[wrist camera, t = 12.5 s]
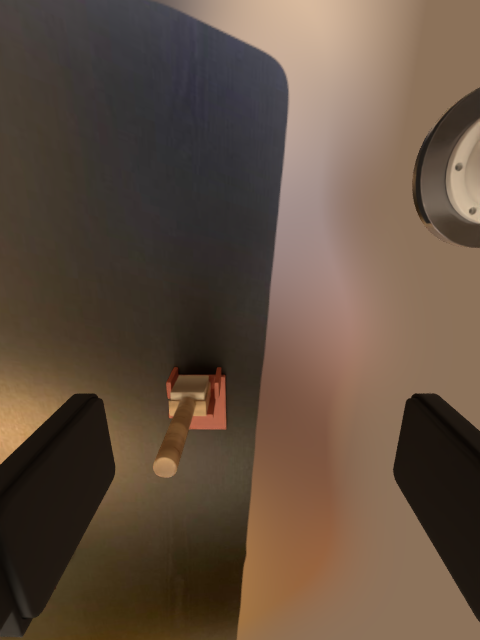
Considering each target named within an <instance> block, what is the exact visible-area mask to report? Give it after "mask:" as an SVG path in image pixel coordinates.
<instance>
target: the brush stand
mask: <svg viewBox="0 0 480 640" xmlns="http://www.w3.org/2000/svg"><path fill="white" fill-rule="evenodd" d="M208 376H209V382H211V397H210V402H209V406H208V411H207V415H206V416H193V418H192V421H191V424H190V428H189V429H226V380H225V375H221V367H217V370H216V375H208ZM178 377H179V375H178V367H174V368H173V370H172V372H171V374H170V376H169V378H168V380H167V382H166V385H167V396H168V398H171V396H170V392H171V390H172V388H173V386H174V384H175V382H176V380H177V378H178ZM169 418H173V416H170V415H169Z"/></svg>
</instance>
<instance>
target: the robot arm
mask: <svg viewBox="0 0 480 640" xmlns="http://www.w3.org/2000/svg"><path fill="white" fill-rule="evenodd" d="M446 190H447V194H448V197H449V200H450V203H451V204H452V206H453V208H454V209H455V210H456V211H457V212H458V213H459V214H460V215H461V216H462V217H464V218H465V219H467V220H468V221H471V222H474V223H478V224H480V119H478V120H477V121H476V122H475V123H474V124H472V125H471V126H470V127H469V128H468V129H467V130H466V132H465V133H464V134H463V135H462V136H461V138H460V139H459V141H458V142H457V144H456V146H455V147H454V149H453V152H452V154H451V156H450V159H449V162H448V166H447V171H446ZM393 472H394V477H395V480H396V482H397V484H398V486H399V487H400V489H401V491H402V493H403V494H404V496H405V498H406V499H407V501H408V503H409V504H410V506H411V508H412V509H413V511H414V513H415V515H416V516H417V518H418V520H419V521H420V523H421V525H422V526H423V528H424V530H425V532H426V533H427V535H428V537H429V538H430V540H431V542H432V543H433V545H434V547H435V548H436V550H437V552H438V554H439V555H440V557H441V559H442V560H443V562H444V564H445V566H446V567H447V569H448V571H449V572H450V574H451V576H452V577H453V579H454V581H455V582H456V584H457V586H458V588H459V589H460V591H461V593H462V594H463V596H464V597H465V599H466V601H467V603H468V604H469V606H470V608H471V609H472V611H473V613H474V615H475V616H476V618H477V619H478V621H479V622H480V431H479V430H478V429H477V428H475V427H474V426H473V425H472V424H471V423H470V422H469V421H468V420H466V419H465V418H464V417H463V416H462V415H461V414H459V413H458V412H457V411H456V410H455V409H454V408H453V407H451V406H450V405H449V404H448V403H447V402H446V401H444V400H443V399H442V398H441V397H440V396H439V395H437V394H414V395H412V397H411V398H409V399H408V400H407V401H406V404H405V410H404V415H403V420H402V425H401V431H400V436H399V441H398V446H397V452H396V457H395V462H394V468H393ZM114 475H115V462H114V457H113V452H112V446H111V441H110V436H109V430H108V425H107V420H106V414H105V409H104V403H103V400H102V399H100V398H98V396H97V395H96V394H74V395H73V396H72V397H70V398H69V399H68V400H67V401H66V402H65V403H64V404H63V405H62V406H61V407H60V408H59V409H58V410H57V411H56V412H55V413H54V414H53V415H52V416H51V417H50V418H49V419H47V420H46V421H45V422H44V423H43V424H42V425H41V426H40V427H39V428H38V429H37V430H36V431H35V432H34V433H33V434H32V435H31V436H30V437H29V438H28V439H27V440H26V441H24V442H23V443H22V444H21V445H20V446H19V447H18V448H17V449H16V450H15V451H14V452H13V453H12V454H11V455H10V456H9V457H8V458H7V459H6V460H5V461H4V462H3V463H2V464H0V637H23V635H24V634H25V632H26V630H27V628H28V626H29V624H30V623H31V621H32V619H33V618H35V617H37V616H39V615H40V613H41V612H42V611H43V609H44V608H45V606H46V604H47V602H48V600H49V599H50V597H51V595H52V593H53V591H54V589H55V587H56V585H57V584H58V582H59V580H60V578H61V576H62V574H63V572H64V570H65V569H66V567H67V565H68V563H69V561H70V559H71V557H72V555H73V554H74V552H75V550H76V548H77V546H78V544H79V542H80V540H81V539H82V537H83V535H84V533H85V531H86V529H87V527H88V525H89V524H90V522H91V520H92V518H93V516H94V514H95V512H96V510H97V509H98V507H99V505H100V503H101V501H102V499H103V497H104V495H105V494H106V492H107V490H108V488H109V486H110V484H111V482H112V480H113V478H114Z"/></svg>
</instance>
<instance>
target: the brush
mask: <svg viewBox="0 0 480 640" xmlns="http://www.w3.org/2000/svg"><path fill="white" fill-rule="evenodd" d="M170 396H171V398H170V400H169V415H170V416H173V418H172V421H171V423H170V426H169V428H168V430H167V433H166V435H165V437H164V440H163V442H162V445H161V447H160V449H159V452H158V454H157V457H156V459H155V461H154V464H153V469H154V472H155V473H156V474H157V475H158V476H160V477H163V478H168V477H171V476H173V475H174V474H175V473H176V471H177V468H178V464H179V461H180V458H181V454H182V451H183V448H184V444H185V441H186V438H187V434H188V431H189V428H190V424H191V421H192V418H193V416H206V415H207V411H208V406H209V402H210V397H211V382H209V376H208V375H179V377H178V378H177V380H176V382H175V384H174V386H173V388H172V390H171V392H170Z"/></svg>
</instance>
